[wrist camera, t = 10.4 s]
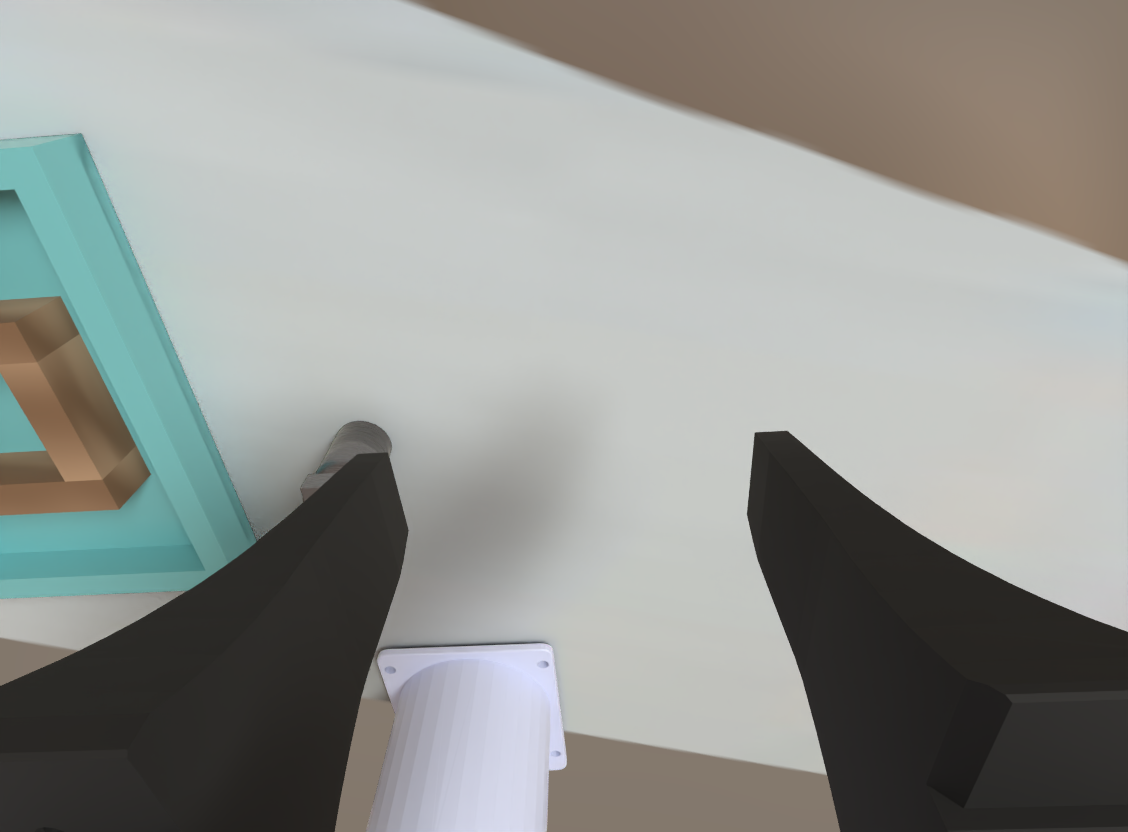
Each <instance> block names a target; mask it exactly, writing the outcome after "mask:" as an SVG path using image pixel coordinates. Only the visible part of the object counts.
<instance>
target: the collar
mask: <svg viewBox="0 0 1128 832" xmlns="http://www.w3.org/2000/svg"><path fill="white" fill-rule="evenodd" d="M0 373H1V375H2V377H3V378H4V380H5V382H6V383H7V385H8V387H9V388H10V390H11V392H12V393H13V395H14V397H15V399H16V400H17V402H18V404H19V405H20V407H21V409H22V410H23V412H24V414H25V415H26V417H27V419H28V420H29V422H30V424H31V425H32V427H33V429H34V430H35V432H36V434H37V435H38V437H39V439H40V440H41V442H42V444H43V445H44V447H45V449H46V451H28V452H10V453H0V516H2V515H22V514H43V513H63V512H83V511H103V510H119V509H120V508H121V507H122V506H123V505H124V504H125V503H126V502H127V501H128V499H129V498H130V497H131V496H132V495H133V494H134V493H135V492H136V491H137V489H138V488H139V487H140V486H141V485H142V484H143V483H144V482H145V481H146V479H147V478H148V477H149V476H150V475H151V473H150V471H149V469H148V468H147V466H146V464H145V462H144V460H143V458H142V456H141V454H140V452H139V450H138V448H137V446H136V444H135V442H134V440H133V438H132V436H131V434H130V432H129V430H128V428H127V426H126V424H125V422H124V420H123V418H122V416H121V414H120V412H119V410H118V408H117V406H116V404H115V402H114V400H113V398H112V396H111V395H110V393H109V391H108V389H107V387H106V385H105V383H104V381H103V379H102V377H101V375H100V373H99V371H98V369H97V367H96V365H95V363H94V361H93V359H92V357H91V355H90V353H89V351H88V349H87V347H86V345H85V343H84V341H83V339H82V337H81V335H80V333H79V331H78V329H77V327H76V325H75V323H74V322H73V320H72V318H71V316H70V314H69V312H68V310H67V308H66V306H65V304H64V302H63V300H62V298H61V296H55V297H40V298H25V299H10V300H0Z"/></svg>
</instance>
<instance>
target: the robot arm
mask: <svg viewBox="0 0 1128 832" xmlns="http://www.w3.org/2000/svg"><path fill="white" fill-rule="evenodd" d="M747 516H748V521H749V525H750V530H751V534H752V539H753V543H754V547H755V551H756V555H757V559H758V562H759V564H760V567H761V570H762V573H763V575H764V578H765V581H766V583H767V586H768V588H769V591H770V594H771V596H772V599H773V602H774V604H775V607H776V609H777V612H778V615H779V617H780V620H781V622H782V625H783V628H784V630H785V633H786V635H787V638H788V641H789V643H790V646H791V648H792V651H793V654H794V656H795V659H796V662H797V665H798V668H799V671H800V674H801V677H802V680H803V683H804V687H805V691H806V694H807V698H808V702H809V706H810V709H811V713H812V717H813V720H814V724H815V728H816V732H817V736H818V740H819V744H820V748H821V752H822V756H823V760H824V764H825V768H826V772H827V776H828V780H829V784H830V788H831V792H832V797H833V801H834V805H835V810H836V814H837V818H838V823H839V827H840V832H1128V632H1127V631H1124V630H1121V629H1118V628H1115V627H1113V626H1110V625H1107V624H1104V623H1102V622H1099V621H1096V620H1093V619H1091V618H1088V617H1086V616H1083V615H1081V614H1079V613H1076V612H1074V611H1071V610H1069V609H1067V608H1064V607H1062V606H1060V605H1057V604H1055V603H1052V602H1050V601H1048V600H1045V599H1043V598H1041V597H1038V596H1036V595H1034V594H1032V593H1030V592H1028V591H1025V590H1023V589H1021V588H1019V587H1017V586H1015V585H1012V584H1010V583H1008V582H1006V581H1004V580H1002V579H1000V578H999V577H997V576H995V575H993V574H991V573H989V572H987V571H985V570H983V569H981V568H979V567H977V566H975V565H973V564H971V563H969V562H967V561H966V560H964V559H962V558H960V557H958V556H956V555H955V554H953V553H951V552H950V551H948V550H946V549H945V548H943V547H941V546H940V545H938V544H936V543H935V542H933V541H931V540H930V539H928V538H926V537H925V536H923V535H921V534H920V533H918V532H916V531H915V530H913V529H912V528H910V527H909V526H907V525H906V524H904V523H903V522H901V521H900V520H898V519H897V518H896V517H894V516H893V515H891V514H890V513H889V512H887V511H886V510H884V509H883V508H881V507H880V506H879V505H877V504H876V503H874V502H873V501H872V500H871V499H869V498H868V497H867V496H865V495H864V494H863V493H861V492H860V491H859V490H857V489H856V488H855V487H854V486H852V485H851V484H850V483H849V482H847V481H846V480H845V479H844V478H842V477H841V476H840V475H839V474H837V473H836V472H835V471H834V470H833V469H831V468H830V467H829V466H828V465H827V464H826V463H824V462H823V461H822V460H821V459H820V458H818V457H817V456H816V455H815V454H814V453H813V452H811V451H810V450H809V449H808V448H807V447H806V446H804V445H803V444H802V443H801V442H800V441H799V440H798V439H796V438H795V437H794V436H793V435H792V434H790V433H789V432H788V431H775V432H756V433H755V437H754V447H753V458H752V468H751V478H750V489H749V499H748V510H747ZM407 536H408V527H407V523H406V519H405V515H404V512H403V508H402V504H401V500H400V496H399V493H398V489H397V485H396V481H395V477H394V474H393V470H392V466H391V462H390V458H389V455H388V452H383V453H365V454H357V455H356V456H355V457H353V458H352V459H351V460H350V461H349V462H347V463H346V464H345V465H344V466H343V467H342V468H341V469H340V470H339V471H337V472H336V473H335V474H334V475H333V476H332V477H331V478H330V479H329V480H328V481H327V482H325V483H324V484H323V485H322V486H321V487H320V488H319V489H318V490H317V491H316V492H314V493H313V494H312V495H311V496H310V497H309V498H308V499H307V500H306V501H304V502H303V503H302V504H301V505H300V506H299V507H298V508H297V509H295V510H294V511H293V512H292V513H291V514H290V515H289V516H288V517H286V518H285V519H284V520H283V521H281V522H280V523H279V524H278V525H277V526H275V527H274V528H273V529H272V530H270V531H269V532H268V533H267V534H266V535H264V536H263V537H262V538H261V539H259V540H258V541H257V542H256V543H255V544H253V545H252V546H251V547H250V548H248V549H247V550H246V551H244V552H243V553H242V554H240V555H239V556H238V557H236V558H235V559H234V560H232V561H231V562H230V563H228V564H227V565H225V566H224V567H223V568H221V569H220V570H218V571H217V572H215V573H214V574H212V575H211V576H209V577H208V578H207V579H205V580H204V581H202V582H201V583H199V584H198V585H196V586H195V587H193V588H191V589H190V590H188V591H186V592H185V593H183V594H181V595H180V596H178V597H176V598H175V599H173V600H171V601H170V602H168V603H166V604H165V605H163V606H161V607H160V608H158V609H156V610H155V611H153V612H151V613H150V614H148V615H146V616H145V617H143V618H141V619H140V620H138V621H136V622H134V623H132V624H130V625H128V626H127V627H125V628H123V629H121V630H119V631H117V632H115V633H114V634H112V635H110V636H108V637H106V638H104V639H102V640H100V641H98V642H96V643H94V644H92V645H90V646H88V647H86V648H84V649H82V650H80V651H78V652H76V653H74V654H72V655H70V656H67V657H65V658H63V659H61V660H59V661H56V662H54V663H52V664H50V665H47V666H45V667H43V668H40V669H38V670H36V671H34V672H31V673H29V674H27V675H24V676H22V677H20V678H18V679H15V680H13V681H11V682H9V683H6V684H4V685H2V686H0V832H334V831H335V825H336V820H337V814H338V808H339V802H340V797H341V791H342V786H343V781H344V776H345V771H346V766H347V761H348V756H349V751H350V746H351V741H352V736H353V731H354V727H355V722H356V718H357V714H358V709H359V704H360V700H361V696H362V692H363V689H364V685H365V682H366V678H367V675H368V672H369V669H370V666H371V663H372V660H373V657H374V654H375V651H376V648H377V645H378V642H379V639H380V636H381V633H382V630H383V627H384V624H385V621H386V618H387V615H388V612H389V609H390V606H391V603H392V600H393V597H394V594H395V590H396V587H397V584H398V581H399V578H400V574H401V569H402V564H403V559H404V554H405V548H406V542H407ZM377 664H378V667H379V669H380V672H381V675H382V678H383V681H384V684H385V687H386V690H387V693H388V696H389V698H390V701H391V704H392V707H393V710H394V713H395V719H394V723H393V727H392V731H391V735H390V739H389V743H388V747H387V750H386V754H385V758H384V763H383V766H382V770H381V774H380V778H379V782H378V786H377V790H376V794H375V798H374V802H373V806H372V810H371V814H370V818H369V822H368V826H367V830H366V832H547V810H548V780H549V779H548V778H549V777H548V776H549V770H560V769H563V768H565V767H566V765H567V757H566V748H565V740H564V732H563V724H562V716H561V708H560V700H559V692H558V684H557V676H556V668H555V660H554V652H553V649H552V647H551V646H550V645H548V644H544V643H535V644H508V645H482V646H456V647H430V648H404V649H386V650H382V651H381V652H380V653H379V655H378V658H377Z"/></svg>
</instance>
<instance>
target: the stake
mask: <svg viewBox="0 0 1128 832" xmlns="http://www.w3.org/2000/svg"><path fill="white" fill-rule="evenodd" d="M391 450H392V445H391V441H390V439H389V437H388V435H387V434H386V433H385V431H383V430H382V429H381V428H380V427H378V426H376V425H374V424H372V423H369V422H364V421H355V422H351V423H348V424H346V425H344V426H343V427H342V428H341V429H340V430H339V432H338V434H337V436H336V437H335V439H334V441H333V443H332V445H331V446H330V448H329V450H328V452H327V454H326V456H325V457H324V459H323V461H322V463H321V465H320V466H319V468H318V470H317V472H316V474H308V476H307V477H306V479H305V481H304V483H303V484H302V486H301V488H300V489H301V492H302V495H303V502H304V501H306V500H307V499H308V498H309V497H310V496H311V495H312V494H313V493H314V492H316V491H317V490H318V489H319V488H320V487H321V486H322V485H323V484H324V483H325V482H327V481H328V480H329V479H330V478H331V477H332V476H333V475H334V474H335V473H336V472H337V471H339V470H340V469H341V468H342V467H343V466H344V465H345V464H346V463H347V462H349V461H350V460H351V459H352V458H353V457H355V456H356V455H357V454H365V453H383V452H388V455H389V456H390V454H391Z"/></svg>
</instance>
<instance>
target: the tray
mask: <svg viewBox="0 0 1128 832" xmlns="http://www.w3.org/2000/svg"><path fill="white" fill-rule="evenodd" d="M55 296H61V298H62V300H63V302H64V304H65V306H66V308H67V310H68V312H69V314H70V316H71V318H72V320H73V322H74V323H75V325H76V327H77V329H78V331H79V333H80V335H81V337H82V339H83V341H84V343H85V345H86V347H87V349H88V351H89V353H90V355H91V357H92V359H93V361H94V363H95V365H96V367H97V369H98V371H99V373H100V375H101V377H102V379H103V381H104V383H105V385H106V387H107V389H108V391H109V393H110V395H111V396H112V398H113V400H114V402H115V404H116V406H117V408H118V410H119V412H120V414H121V416H122V418H123V420H124V422H125V424H126V426H127V428H128V430H129V432H130V434H131V436H132V438H133V440H134V442H135V444H136V446H137V448H138V450H139V452H140V454H141V456H142V458H143V460H144V462H145V464H146V466H147V468H148V469H149V471H150V473H151V475H150V476H149V477H148V478H147V479H146V481H145V482H144V483H143V484H142V485H141V486H140V487H139V488H138V489H137V491H136V492H135V493H134V494H133V495H132V496H131V497H130V498H129V499H128V501H127V502H126V503H125V504H124V505H123V506H122V507H121V508H120V509H119V510H103V511H83V512H63V513H43V514H22V515H2V516H0V599H6V598H29V597H52V596H75V595H98V594H121V593H144V592H166V591H188V590H190V589H191V588H193V587H195V586H196V585H198V584H199V583H201V582H202V581H204V580H205V579H207V578H208V577H209V576H211V575H212V574H214V573H215V572H217V571H218V570H220V569H221V568H223V567H224V566H225V565H227V564H228V563H230V562H231V561H232V560H234V559H235V558H236V557H238V556H239V555H240V554H242V553H243V552H244V551H246V550H247V549H248V548H250V547H251V546H252V545H253V544H255V543H256V542H257V541H256V538H255V536H254V534H253V531H252V529H251V527H250V524H249V522H248V520H247V517H246V515H245V513H244V510H243V508H242V506H241V503H240V501H239V499H238V496H237V494H236V492H235V489H234V487H233V485H232V483H231V480H230V478H229V476H228V473H227V471H226V469H225V466H224V464H223V462H222V459H221V457H220V455H219V452H218V450H217V448H216V445H215V443H214V441H213V438H212V436H211V434H210V431H209V429H208V427H207V424H206V422H205V420H204V417H203V415H202V413H201V410H200V408H199V406H198V403H197V401H196V399H195V396H194V394H193V392H192V390H191V387H190V385H189V383H188V380H187V378H186V376H185V373H184V371H183V369H182V366H181V364H180V362H179V359H178V357H177V355H176V352H175V350H174V348H173V345H172V343H171V341H170V338H169V336H168V334H167V331H166V329H165V327H164V324H163V322H162V320H161V317H160V315H159V313H158V310H157V308H156V306H155V303H154V301H153V299H152V297H151V294H150V292H149V290H148V287H147V285H146V283H145V280H144V278H143V276H142V273H141V271H140V269H139V266H138V264H137V262H136V259H135V257H134V255H133V252H132V250H131V248H130V245H129V243H128V241H127V238H126V236H125V234H124V231H123V229H122V227H121V224H120V222H119V220H118V217H117V215H116V213H115V210H114V208H113V206H112V203H111V201H110V199H109V197H108V194H107V192H106V190H105V187H104V185H103V183H102V180H101V178H100V176H99V173H98V171H97V169H96V166H95V164H94V162H93V159H92V157H91V155H90V152H89V150H88V148H87V145H86V143H85V141H84V138H83V136H82V134H81V133H80V134H68V135H55V136H43V137H30V138H18V139H6V140H0V300H10V299H25V298H40V297H55ZM28 451H46V449H45V447H44V445H43V444H42V442H41V440H40V439H39V437H38V435H37V434H36V432H35V430H34V429H33V427H32V425H31V424H30V422H29V420H28V419H27V417H26V415H25V414H24V412H23V410H22V409H21V407H20V405H19V404H18V402H17V400H16V399H15V397H14V395H13V393H12V392H11V390H10V388H9V387H8V385H7V383H6V382H5V380H4V378H3V377H2V375H1V373H0V453H10V452H28Z"/></svg>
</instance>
